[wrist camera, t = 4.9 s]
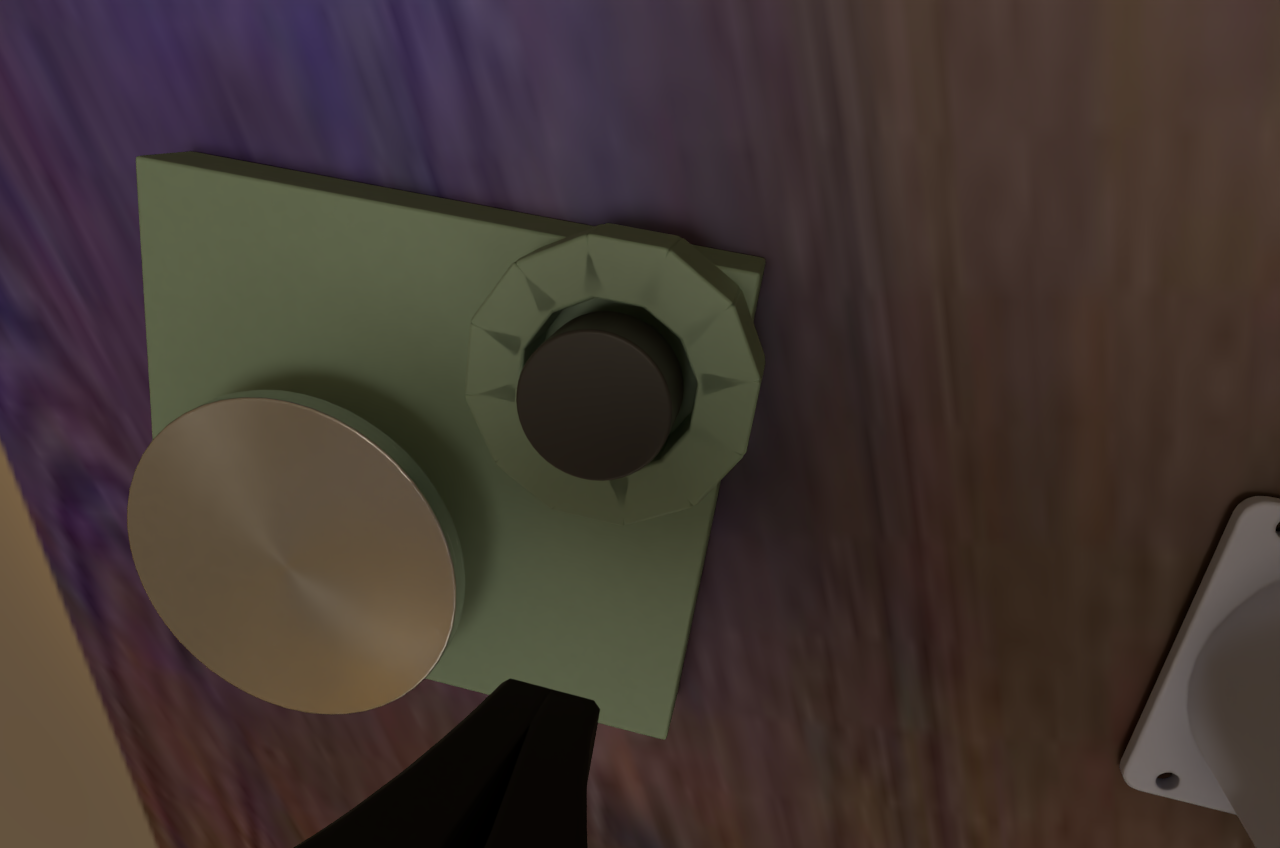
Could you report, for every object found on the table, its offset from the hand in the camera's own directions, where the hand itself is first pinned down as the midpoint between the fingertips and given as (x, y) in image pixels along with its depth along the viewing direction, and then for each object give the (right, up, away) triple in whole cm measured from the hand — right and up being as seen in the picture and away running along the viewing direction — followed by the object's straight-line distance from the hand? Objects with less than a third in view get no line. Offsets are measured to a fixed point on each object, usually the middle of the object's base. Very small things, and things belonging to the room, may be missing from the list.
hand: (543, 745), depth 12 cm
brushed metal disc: (-6, +1, +8) cm, 10 cm away
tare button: (+1, +5, +6) cm, 8 cm away
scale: (-4, +4, +10) cm, 12 cm away
